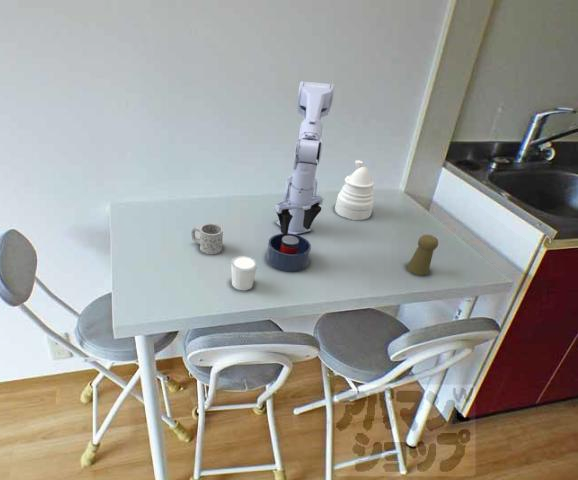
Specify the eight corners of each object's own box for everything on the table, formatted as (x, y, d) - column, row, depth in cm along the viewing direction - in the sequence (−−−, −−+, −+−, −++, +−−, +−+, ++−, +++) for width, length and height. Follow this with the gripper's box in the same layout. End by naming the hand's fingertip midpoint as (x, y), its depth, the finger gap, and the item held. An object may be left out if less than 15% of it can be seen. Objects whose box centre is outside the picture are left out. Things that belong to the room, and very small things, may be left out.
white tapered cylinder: (228, 276, 117) (230, 255, 112) (253, 276, 117) (255, 255, 113) (230, 291, 111) (232, 270, 107) (256, 291, 112) (258, 270, 108)
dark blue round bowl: (259, 254, 127) (260, 238, 123) (292, 245, 131) (295, 230, 128) (281, 275, 118) (283, 259, 115) (316, 265, 123) (319, 249, 120)
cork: (429, 277, 122) (443, 244, 115) (408, 273, 122) (420, 241, 116) (426, 265, 126) (439, 233, 120) (405, 262, 127) (417, 230, 120)
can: (276, 256, 125) (278, 237, 121) (289, 252, 127) (292, 233, 123) (285, 264, 122) (288, 245, 118) (299, 260, 124) (302, 242, 120)
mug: (225, 246, 129) (226, 227, 125) (215, 256, 124) (216, 237, 120) (197, 237, 132) (197, 218, 128) (186, 247, 127) (186, 228, 123)
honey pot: (328, 212, 151) (339, 163, 140) (343, 200, 160) (354, 153, 149) (362, 223, 145) (376, 173, 134) (375, 210, 154) (389, 162, 143)
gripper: (288, 196, 106) (281, 242, 114) (333, 187, 112) (324, 232, 120) (273, 185, 111) (267, 230, 119) (317, 177, 116) (309, 220, 125)
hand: (295, 230), depth 120 cm, fingers open, 7 cm apart
